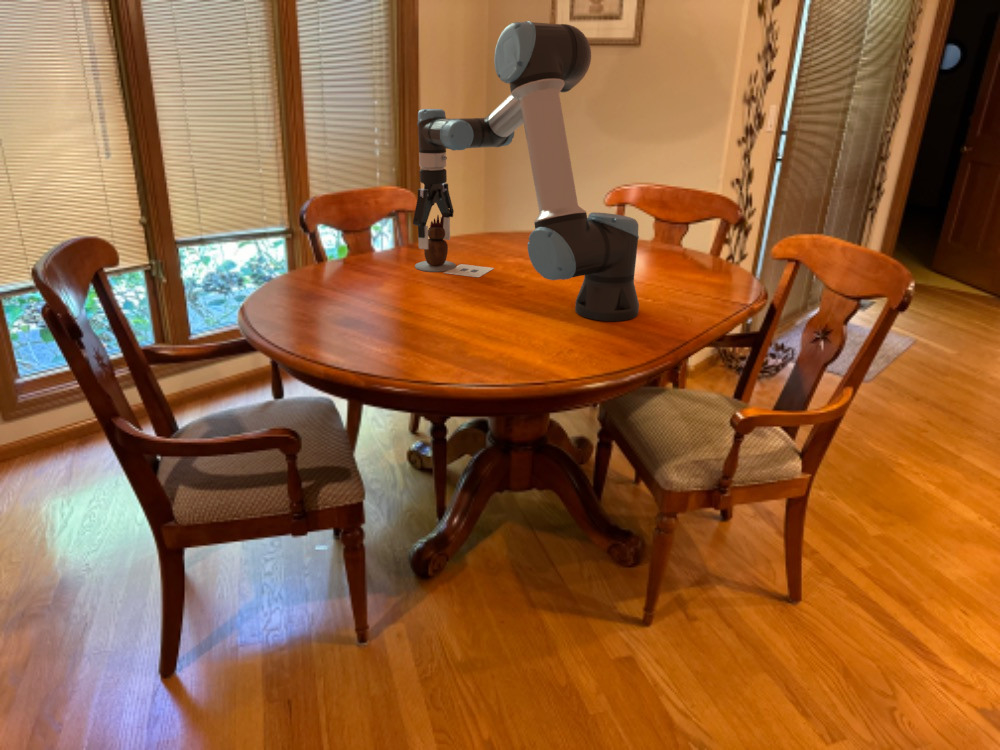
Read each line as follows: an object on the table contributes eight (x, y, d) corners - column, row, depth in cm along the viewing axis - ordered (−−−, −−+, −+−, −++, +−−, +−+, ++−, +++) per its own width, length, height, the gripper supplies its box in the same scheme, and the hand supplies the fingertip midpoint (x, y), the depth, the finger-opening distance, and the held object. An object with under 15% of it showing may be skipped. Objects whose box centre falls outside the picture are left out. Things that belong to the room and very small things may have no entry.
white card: (478, 277, 192) (478, 277, 192) (443, 273, 196) (443, 272, 196) (494, 268, 201) (494, 268, 201) (460, 264, 205) (460, 264, 205)
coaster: (444, 273, 195) (444, 272, 195) (407, 269, 199) (407, 267, 199) (462, 264, 205) (462, 262, 205) (427, 259, 209) (427, 258, 209)
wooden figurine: (448, 263, 204) (450, 212, 199) (444, 267, 199) (446, 215, 193) (426, 261, 205) (427, 210, 199) (422, 265, 200) (422, 213, 194)
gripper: (423, 174, 179) (425, 254, 188) (464, 164, 200) (465, 236, 209) (398, 172, 182) (401, 251, 190) (441, 162, 203) (443, 234, 211)
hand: (434, 244), depth 199 cm, fingers open, 13 cm apart
